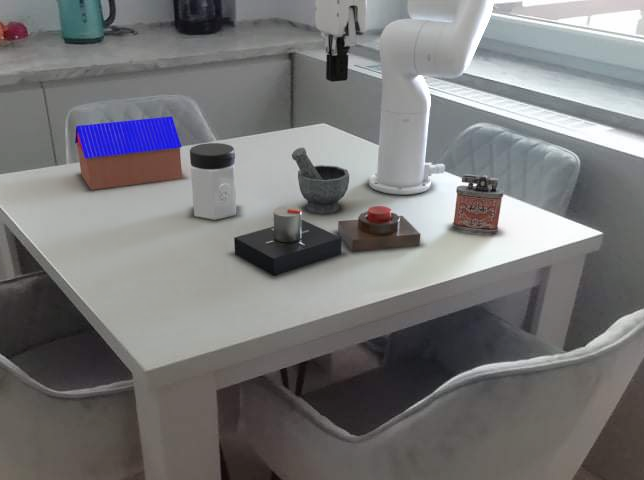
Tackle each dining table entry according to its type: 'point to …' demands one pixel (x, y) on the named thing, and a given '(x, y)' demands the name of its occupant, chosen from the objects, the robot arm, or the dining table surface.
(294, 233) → the dial knob
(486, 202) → the lighter
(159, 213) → the dining table surface
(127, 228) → the dining table surface
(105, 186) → the house
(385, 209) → the button
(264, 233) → the control panel
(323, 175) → the mortar and pestle
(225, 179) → the jar
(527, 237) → the dining table surface
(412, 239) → the button block
